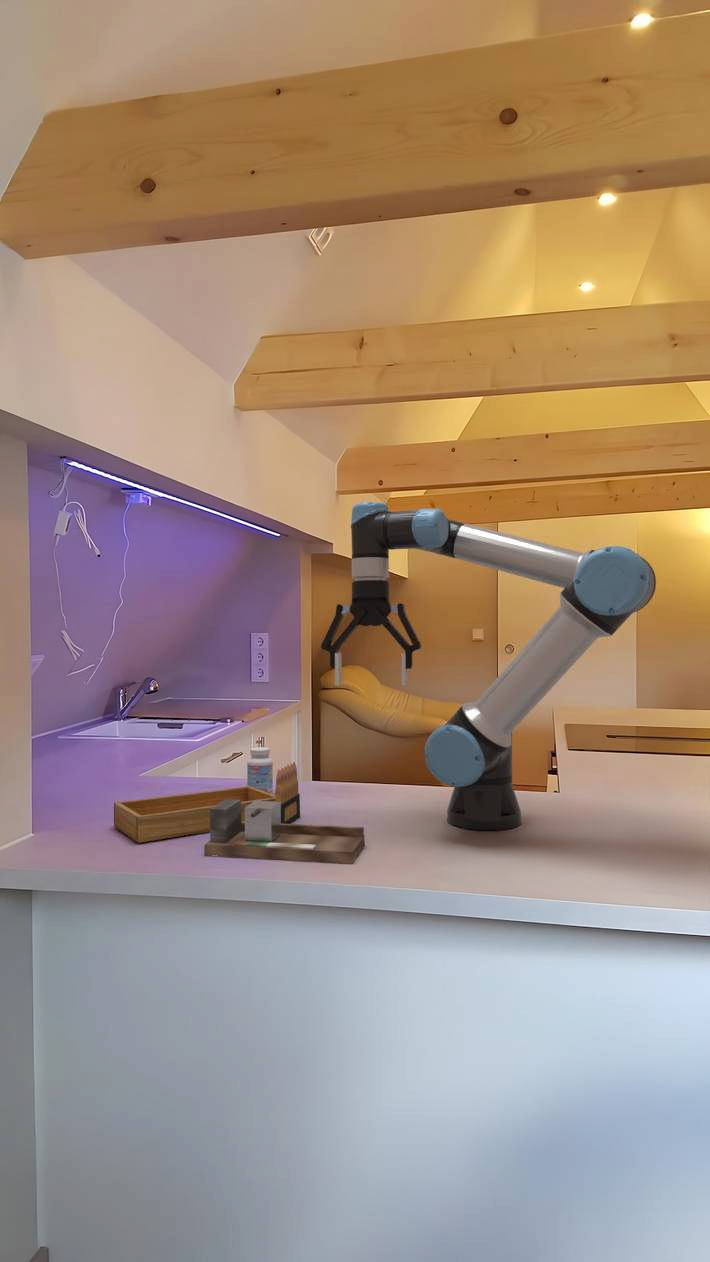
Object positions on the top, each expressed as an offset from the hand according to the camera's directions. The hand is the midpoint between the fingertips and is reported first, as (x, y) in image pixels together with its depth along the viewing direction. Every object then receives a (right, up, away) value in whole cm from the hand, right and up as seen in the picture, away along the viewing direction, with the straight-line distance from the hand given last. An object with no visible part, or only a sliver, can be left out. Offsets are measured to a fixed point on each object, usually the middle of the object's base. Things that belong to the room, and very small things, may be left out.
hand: (371, 685), depth 157 cm
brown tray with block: (-16, -29, -16) cm, 37 cm away
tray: (-36, -30, +4) cm, 47 cm away
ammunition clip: (-17, -29, +4) cm, 34 cm away
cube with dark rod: (-20, -27, -16) cm, 37 cm away
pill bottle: (-26, -29, +30) cm, 49 cm away
